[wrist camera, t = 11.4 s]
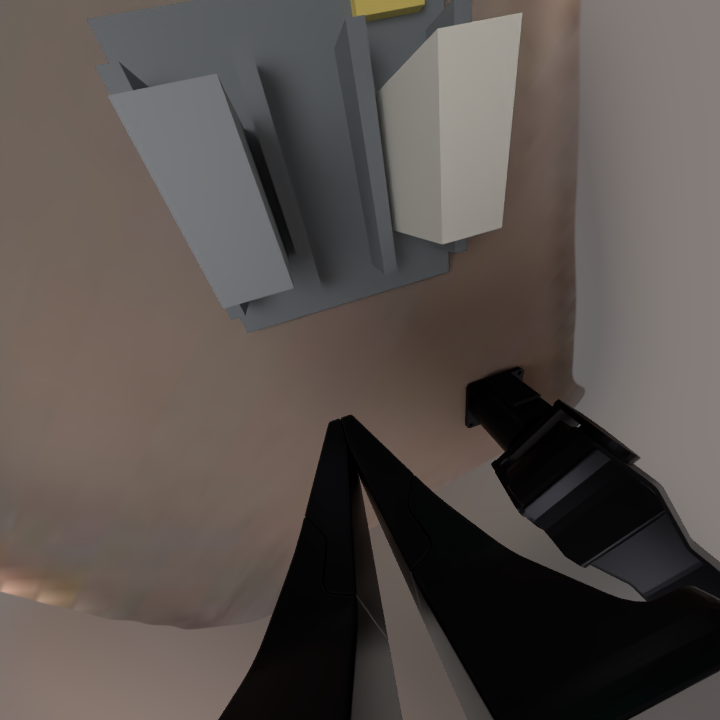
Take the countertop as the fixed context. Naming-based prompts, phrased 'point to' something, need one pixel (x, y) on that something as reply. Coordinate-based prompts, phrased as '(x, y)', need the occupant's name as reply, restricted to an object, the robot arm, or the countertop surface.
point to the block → (451, 130)
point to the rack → (275, 141)
